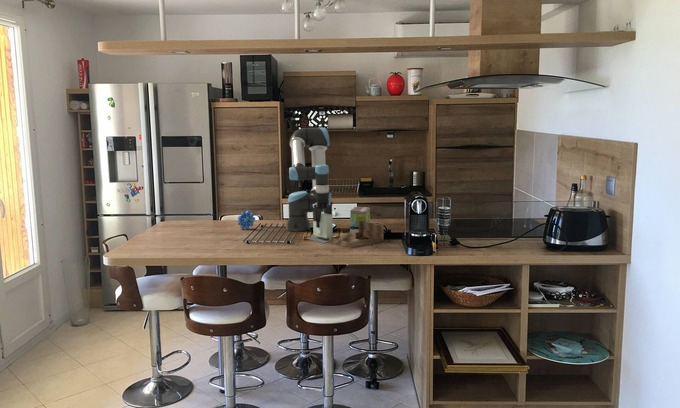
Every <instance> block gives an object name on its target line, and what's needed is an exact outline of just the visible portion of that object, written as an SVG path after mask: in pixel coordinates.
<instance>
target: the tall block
mask: <svg viewBox="0 0 680 408" xmlns="http://www.w3.org/2000/svg"><path fill="white" fill-rule="evenodd" d="M320 222H321V234H320V233H317V227H316V221H313V220H312V224H313V229H312V231H313V232H312V233H313V236H319V237H323V238H332V237H334V236H333V235H334V234H333V230H334V229H333V225H334V224H333V214H332V215H331V214H326V213H324V212H321V218H320Z"/></svg>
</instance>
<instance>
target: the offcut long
mask: <svg viewBox="0 0 680 408" xmlns="http://www.w3.org/2000/svg"><path fill="white" fill-rule="evenodd" d="M338 240H341V239H340V238H338ZM341 241H345V242H349V243H352V242H357V241H361V240H360V239H358V238H356V239H350V240H341Z"/></svg>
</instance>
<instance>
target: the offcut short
mask: <svg viewBox="0 0 680 408" xmlns="http://www.w3.org/2000/svg"><path fill="white" fill-rule="evenodd" d="M339 236H340V239H341V240H350V239H357V237H356V234H355V233H350V232H344V233H340V235H339Z"/></svg>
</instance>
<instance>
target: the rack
mask: <svg viewBox="0 0 680 408" xmlns="http://www.w3.org/2000/svg"><path fill="white" fill-rule="evenodd" d="M355 234H356V238H360V237H363V238H367V239H362V240H360V241H357V242H352V243H349V242H345V241H341V240H338V238H340V235H338V236H333V237H332V238H329V242H328V243H331V244H334V245H337V246H341V247H345V248H347V249H353V248H357V247H362V246H366V245H370V244H376V243H379V242H380V243H381V242H384V224H378V223H374V222H371V221H370V222H366V221H359V232H357V233H355Z"/></svg>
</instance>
